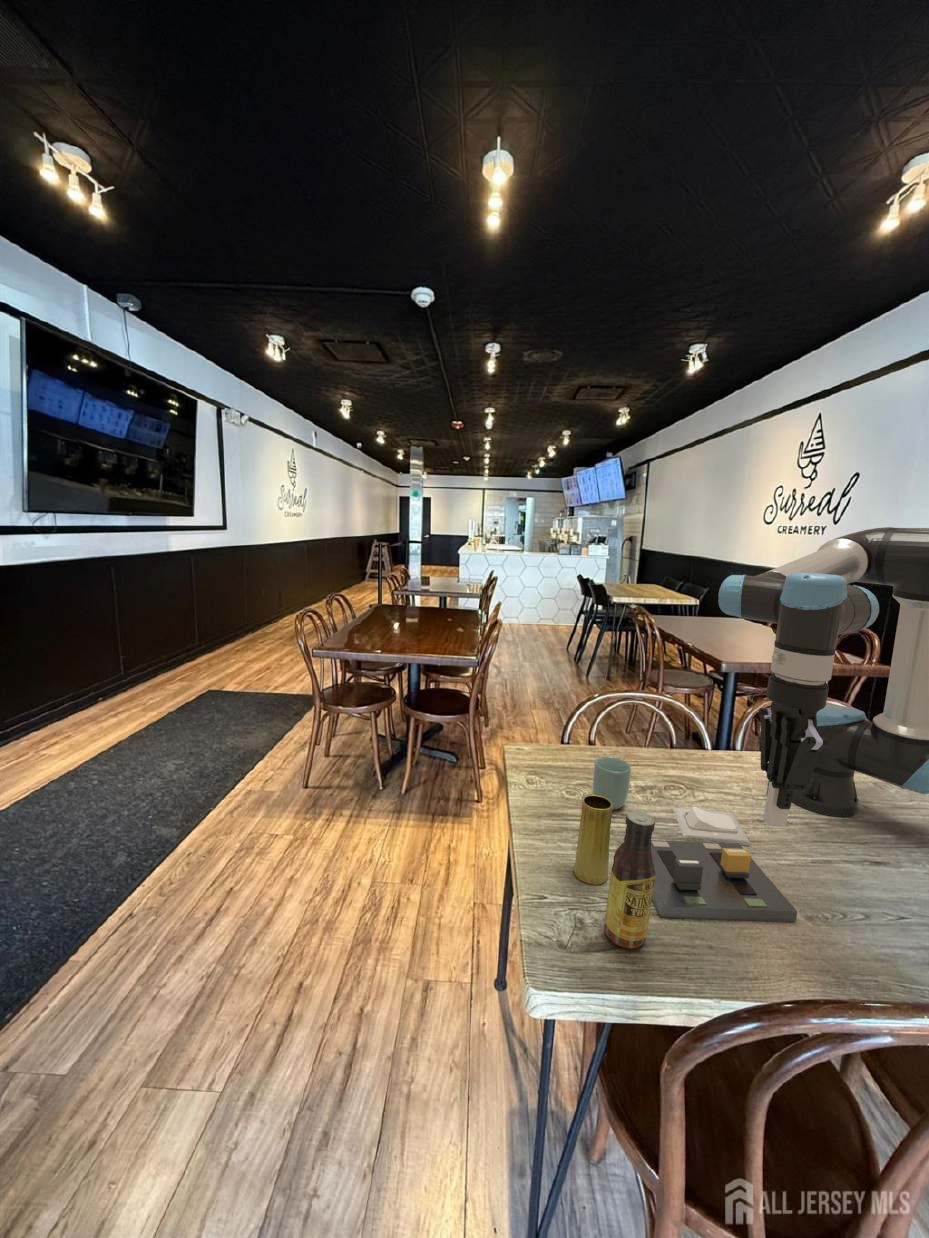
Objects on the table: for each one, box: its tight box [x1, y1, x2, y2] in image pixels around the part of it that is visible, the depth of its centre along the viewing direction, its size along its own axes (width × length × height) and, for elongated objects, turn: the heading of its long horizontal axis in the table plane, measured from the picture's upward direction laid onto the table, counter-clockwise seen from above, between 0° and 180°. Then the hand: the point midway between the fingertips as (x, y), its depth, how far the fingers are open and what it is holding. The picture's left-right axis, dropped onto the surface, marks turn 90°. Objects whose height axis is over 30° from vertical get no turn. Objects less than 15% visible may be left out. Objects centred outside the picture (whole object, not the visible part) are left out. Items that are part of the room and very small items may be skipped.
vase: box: [573, 794, 614, 885], centre depth 91 cm, size 6×6×14 cm
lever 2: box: [720, 848, 752, 878], centre depth 90 cm, size 4×3×4 cm
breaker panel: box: [651, 839, 798, 923], centre depth 91 cm, size 22×18×2 cm
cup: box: [592, 756, 632, 811], centre depth 115 cm, size 8×8×10 cm
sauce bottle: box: [604, 810, 656, 950], centre depth 77 cm, size 7×6×20 cm
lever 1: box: [672, 859, 703, 890], centre depth 87 cm, size 4×3×4 cm
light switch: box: [673, 806, 751, 847], centre depth 109 cm, size 11×4×13 cm
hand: (774, 822), depth 79 cm, fingers closed
